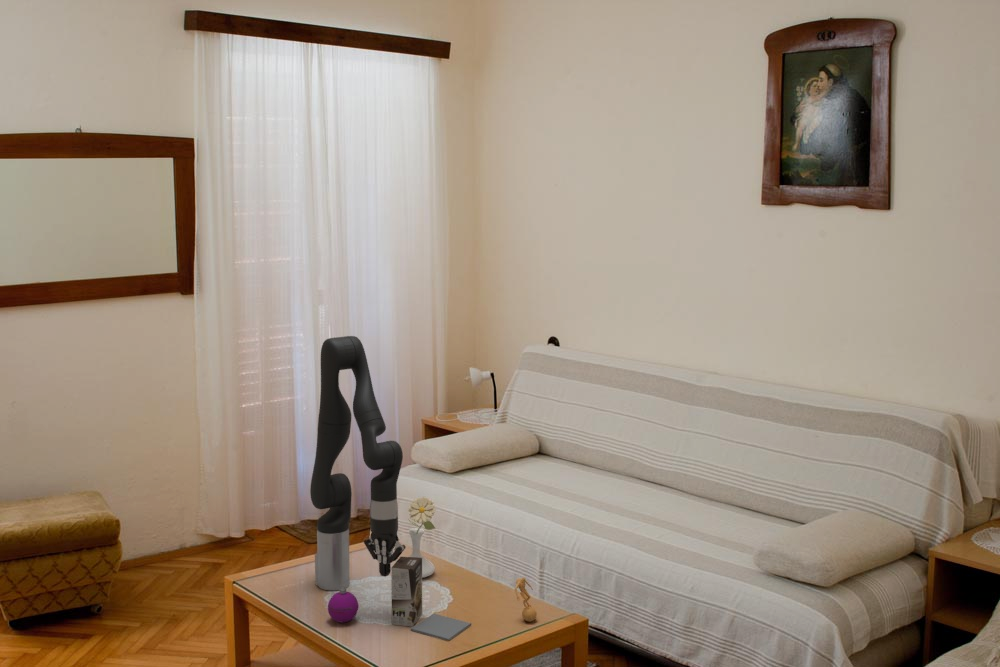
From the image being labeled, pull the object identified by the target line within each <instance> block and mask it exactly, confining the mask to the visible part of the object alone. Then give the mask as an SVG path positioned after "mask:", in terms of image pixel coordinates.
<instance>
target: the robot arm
mask: <svg viewBox="0 0 1000 667" xmlns="http://www.w3.org/2000/svg"><path fill="white" fill-rule="evenodd" d="M320 348H321V349H320V395H319V396H320V399H319V409H318V410H319V411H318V420H317V434H316V437H317V438H316V451H315V458H314V465H313V471H312V475H311V479H310V487H309V488H310V489H309V494H310V499H311V503H312V505H313V506H314V508H316V509H317V510H326V509H327V511H326V513H324V514H323V515H322V516H319V518H318V519H317V521H316V540H317V541H316V543H317V544H316V546H317V547H316V548H317V549H316V550H317V552H316V553H315V554H314V582H315V584H314V585H315V586H318V588H320V590H321V589H322V590H325V591H340V589H341V588H344V587H345V588H346V589H347V587H349V586H350V584H351V582H350V579H351V578H350V570H351V569H350V522H351V518H352V497H353V496H352V495H353V494H352V485H351V484H352V483H351V481H350V479H349V478H348V477H349V476H348V475H346V474H345V473H341V472H339V473H338V472H337V473H333V474H332V471H333V467H334V464H335V463H336V460H337V459H338V457H339V456H340V454H341V453H342V451H343V449H344V448H345V446H346V444H347V443H348V441H349V438H350V434H351V427H352V426H351V425H352V412H353V416H354V419H355V422H356V424H357V427H358V429H359V432H360V437H361V438H360V439H361V445H362V446H361V448H362V459H363V461H364V464H365V465H366V467H368V468H369V469H370V470H372V471H379V470H381V472H380V473H379V474H378V475H376V476H373V478H372V479H371V481H370V504H369V518H370V523H369V525H370V526H369V528H370V530H369V531H370V537H369V538H367V539H365V540H363V543H364V546H365V547H366V548H367V551H368V552H369V554H370V556H371V558H372V559H373V560H377V562H378V572H379V574H380V576H381V577H388V576H389V575H390V574H391V573H392V567H391V563H393V562H396V561H397V560H398V559H399V558H400V557H401V555H402V553H403V552H404V551H405V550H406V545H405V544H401V542H400V540H399V536H398V532H399V505H398V504H399V503H398V493H397V492H398V491H397V490H398V488H397V484H398V479H399V476H400V471H401V467H402V464H403V456H404V455H403V449H402V446H401V445H400V444H399V443H398V442H397V441H396V440H386V441H381V442H377V438H378V437H379V436H381V435H383V434H384V433H385V432H386V429H387V428H386V422H385V420H384V417H383V415H382V413H381V410H380V408H379V405H378V402H377V399H376V398H377V397H376V395H375V392H374V386H373V383H372V379H371V378H372V377H371V373H370V368H369V363H368V359H367V355H366V351H365V348H364V346H363V343H362V342H361V339H359V338H358V337H357V336H354V335H346V336H338V337H329V338H327V339H325V340H324V341H323V342H322V345H321V347H320ZM343 370H344V371H345V370H351V371H352V373H353V375H354V376H353V377H354V378H355V391H354V394H353V402H352V412H351V409H350V406H349V404H348V403H347V402H348V401H347V400H346V399H345V397H344V395H343V393H342V392H341V389H340V382H339V381H340V380H339V377H340V371H343ZM341 586H342V587H341ZM343 586H344V587H343Z"/></svg>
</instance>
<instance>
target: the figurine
mask: <svg viewBox="0 0 1000 667" xmlns="http://www.w3.org/2000/svg"><path fill="white" fill-rule="evenodd" d="M515 584H516V585H515V587H514V591H515V595H516V599H517V601H520V598H521V597H522V598H523V601H522V602H523V606H524V608H523V610H522V611H521V616H522V618H523V620H525V621H526V622H528V623H529V622H534V620H536V618H537V613H538V612H537V610H536V608H534V607H533V606H532V605H531V604H529V602H528V601H529V600H530V599H531V595H530V593H529V592H528V591H527V589H526V585H527V586H528V587H530V589H531V590H532V591H533V589H534V588H533V587H532V585H531V584H530V583H528V581H527V580H526V578H525V577H524V576H523V577H522V578H517V579H516V581H515ZM518 590H519V592H520V596H521V597H520V596H519V593H518Z"/></svg>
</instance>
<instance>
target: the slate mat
mask: <svg viewBox="0 0 1000 667" xmlns="http://www.w3.org/2000/svg"><path fill="white" fill-rule="evenodd" d="M471 626H472V623H471V622H468V621H464V620H459V619H457V618H452V617H449V616H444V615H443V614H442V615H441V614H437V613H432V614H430V615H429V616H428V617H426V618H424V619H423V620H421V621H420V622H418V623H417V624H414V626H412V627H410V631H411V632H414V633H418V634H421V635H425V636H429V637H433V638H436V639H441V640H442V641H443V640H444V641H447V642H450V641H451V640H453V639H454V638H456V637H457V636H458V635H460V634H461V633H463V632H464V631H465V630H467V629H468V628H470V627H471Z"/></svg>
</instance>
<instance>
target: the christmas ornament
mask: <svg viewBox="0 0 1000 667" xmlns="http://www.w3.org/2000/svg"><path fill="white" fill-rule="evenodd" d="M341 587H342V586H341ZM343 587H344V586H343ZM358 611H359V601H358V599H357V597H356V596H355V595H354V594H353V593H352V592H350V591H347V587H346V588H345V587H344V588H341V589H340V590H338V591H337V592H335V593H334V594H333V595H331V597H330V599H329V600H328V604H327V612H328V614H329V616H330V618H331V619H332V620H334V621H335V622H338V623H348V622H350V621H352V620H353V619H354V618H355V616H357V613H358Z"/></svg>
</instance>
